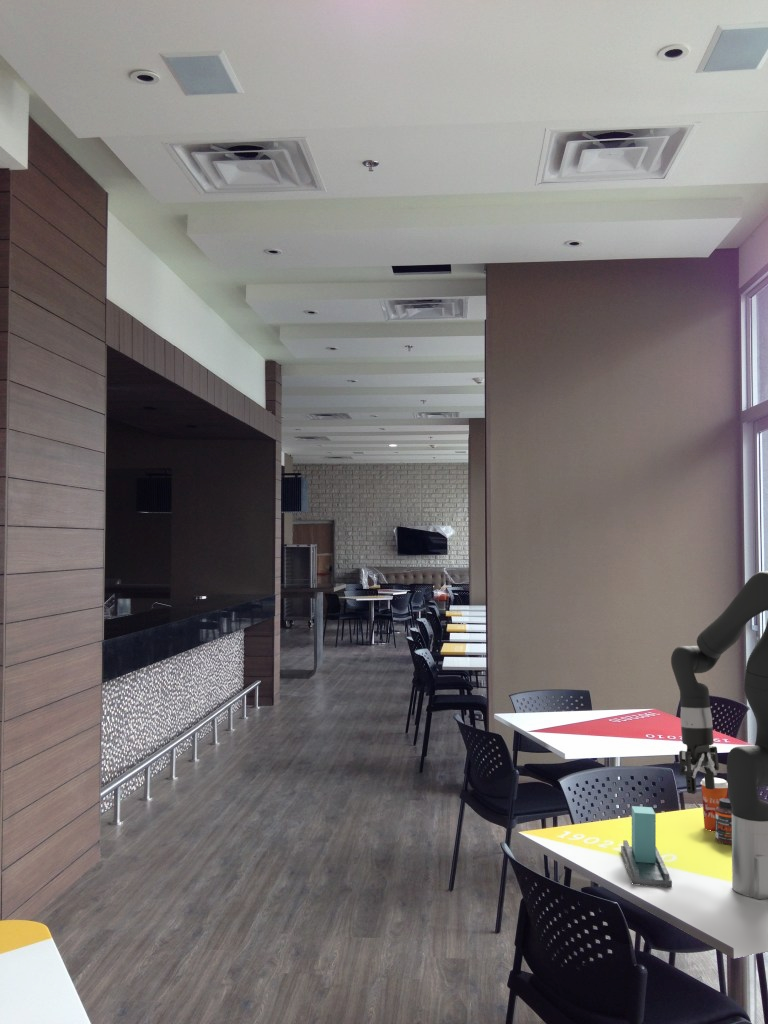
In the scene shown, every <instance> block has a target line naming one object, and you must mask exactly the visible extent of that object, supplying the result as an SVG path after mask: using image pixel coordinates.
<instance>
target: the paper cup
mask: <svg viewBox="0 0 768 1024" xmlns="http://www.w3.org/2000/svg"><path fill="white" fill-rule="evenodd" d="M714 784H715V788H714V789H707V788H706V787H705V777H704V778H702V779H701V781H700V785H701V797H702V798H701V799H702V810H703V825H704V830H706V829H707V830H706V831H708V830H711V831H710V832H712V831H715V810H716V807H718V806H719V799H728V781H727V779H726V780H725V779H724V778H719V777H714Z"/></svg>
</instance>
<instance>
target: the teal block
mask: <svg viewBox="0 0 768 1024" xmlns="http://www.w3.org/2000/svg"><path fill="white" fill-rule="evenodd" d="M656 815H657V814H656V812H655V811H654V809H653V807H652V806H634V805H631V847H632V854H633V857H634V860H635V862H642V863H655V864H656V848H657V843H656V842H657V840H656V837H657V835H656V832H657V831H656V822H657V821H656V819H657V818H656Z"/></svg>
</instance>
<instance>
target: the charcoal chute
mask: <svg viewBox="0 0 768 1024" xmlns="http://www.w3.org/2000/svg"><path fill="white" fill-rule="evenodd" d="M622 843H623V844H622V845H620V853H621V856H622V859H623V862H624V864H626V865H625V868H626V867H627V868H626V870H628V871H627V874H628V876H629V879H630V882H631V881H632V882H631V884H632V883H633V884H632V885H634V884H640V885H639V886H646V885H647V886H648V887H649V886H650V887H660V888H670V889H671V888H673V880H672V878H671V875H670V873H669V871H668V869H667V867H666V865H665V863H664V860H663V858H662V857H661V854H660V851H659V850H658V848H657V847H656V864H655V863H642V862H635V860H634V857H633V854H632V846H630V844H629V841H628V840H626V839H624V840H622Z"/></svg>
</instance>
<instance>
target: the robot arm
mask: <svg viewBox="0 0 768 1024" xmlns="http://www.w3.org/2000/svg"><path fill="white" fill-rule="evenodd" d="M766 611H767V612H768V570H762V571H758V572H756V573H754V574H753V575H752V576H751V577H750V578H748V580H747V581H746V583H745V584H743V586H742V587H741V589H740V590H739V592H738V593H737V594H736V596H735V597H734V598H733V600H732V601H731V602H730V603H729V605H727V607H726V608H725V609H724V610H723V612H722V613H721V614H720V615H719V616H718V617H717V618H716V619H715V620H714V621H712V623H710V624H709V625H708V626H707V627H706V628H704V630H702V631H701V632H700V633H699V634H698V636H697V638H696V645H680V646H677V647H676V648H674V650H673V652H672V653H671V657H670V663H671V669H672V672H673V675H674V678H675V682H676V683H677V686H678V689H679V698H680V715H679V716H680V728H681V742H682V744H683V745H686V750H680V751H679V752H678V753H679V755H678V756H679V757H678V759H679V775H680V776H683V777H684V778H685V782H686V783H685V784H686V792H687V793H688V794H691V795H696V794H697V791H698V790H697V780H696V776H697V774H698V772H699V771H700V768H702V769H703V771H704V773H703V774H704V778H705V787H706V788H707V789H714V788H715V784H714V778H715V774H716V773H717V771H719V770H720V765H719V764H720V763H719V756H718V755H719V754H718V748H717V746H713V745H714V743H715V742H714V728H713V727H714V726H713V716H712V711H711V704H710V702H711V701H710V700H711V699H710V690H709V686H708V685H706V684H704V683H702V682H698V679H697V678H696V674H704V673H707V672H708V671H711V670H712V669H713V668H714V667H715V666H716V664H717V662H718V661H719V659H720V658H721V656H722V654H724V653H725V652H726V651H727V650H728V649H730V648H731V647H732V646H734V645H735V644H736V643H737V642H738V641H739V639H740V638H741V636H742V634H743V632H744V629H745V626H746V625H747V624H748V623H749V621H751V620H752V619H753V618H755V617H757V616H758V615H759V614H761V613H764V612H766ZM745 667H746V668H745V674H744V683H743V684H744V685H743V687H744V689H743V690H744V691H743V692H744V693H745V695H744V696H745V698H746V700H747V702H748V705H749V706H750V707H749V708H750V710H751V711H752V713H753V715H754V718H755V721H756V737H755V743H754V745H744V746H743V745H742V746H735V747H732V748H731V749H730V751H729V752H728V755H727V759H726V781H727V783H728V790H727V797H728V799H729V801H730V804H731V807H732V845H731V870H732V871H731V873H732V877H731V879H732V880H731V881H732V883H731V885H732V886H731V887H732V890H733V891H735V892H737V893H739V894H740V895H743V896H746V897H750V898H755V899H757V900H764V899H768V801H765V800H762V799H760V798H759V793H758V787H767V786H768V619H767V620H766V626H765V629H764V630H763V633H762V635H761V636H760V639H758V642H757V643H756V644H755V646H754V648H753V649H752V651H751V653H750V655H749V657H748V660H747V663H746V666H745Z"/></svg>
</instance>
